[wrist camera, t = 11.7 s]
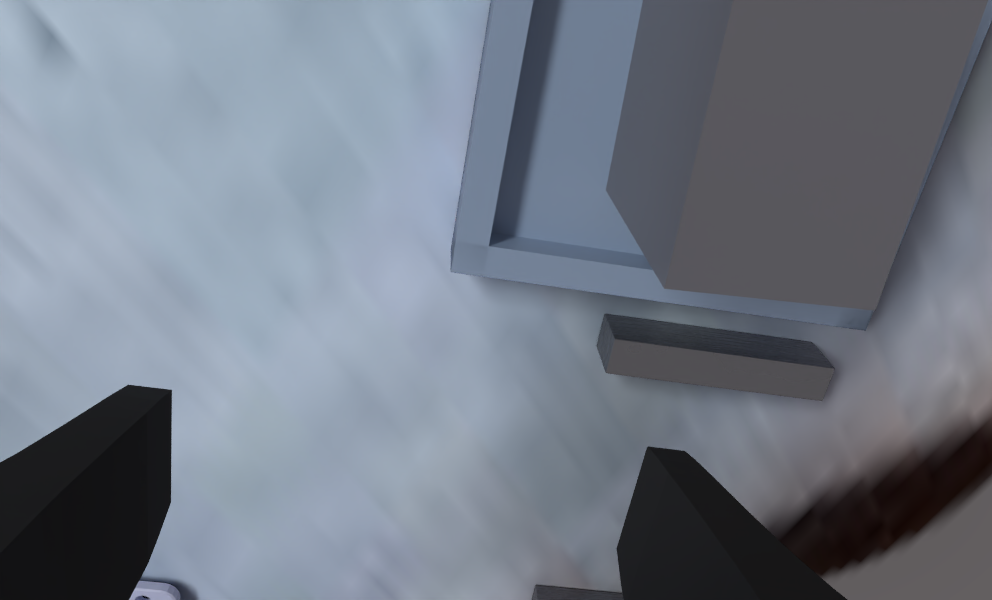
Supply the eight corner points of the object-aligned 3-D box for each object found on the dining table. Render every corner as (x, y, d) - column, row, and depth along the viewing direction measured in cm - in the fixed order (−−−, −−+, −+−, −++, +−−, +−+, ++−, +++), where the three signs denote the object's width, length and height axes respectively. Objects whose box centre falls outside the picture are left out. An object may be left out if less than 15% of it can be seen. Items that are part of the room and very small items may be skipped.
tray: (450, 249, 21) (450, 272, 19) (539, -298, 16) (546, -319, 15) (840, 305, 22) (865, 330, 21) (1030, -186, 17) (1079, -196, 16)
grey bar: (605, 190, 20) (663, 289, 14) (678, -183, 16) (791, -240, 11) (760, 207, 20) (875, 310, 15) (862, -153, 17) (1058, -194, 11)
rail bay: (529, 608, 26) (533, 645, 25) (604, 313, 22) (614, 339, 20) (705, 624, 27) (718, 661, 25) (811, 342, 22) (835, 368, 21)
